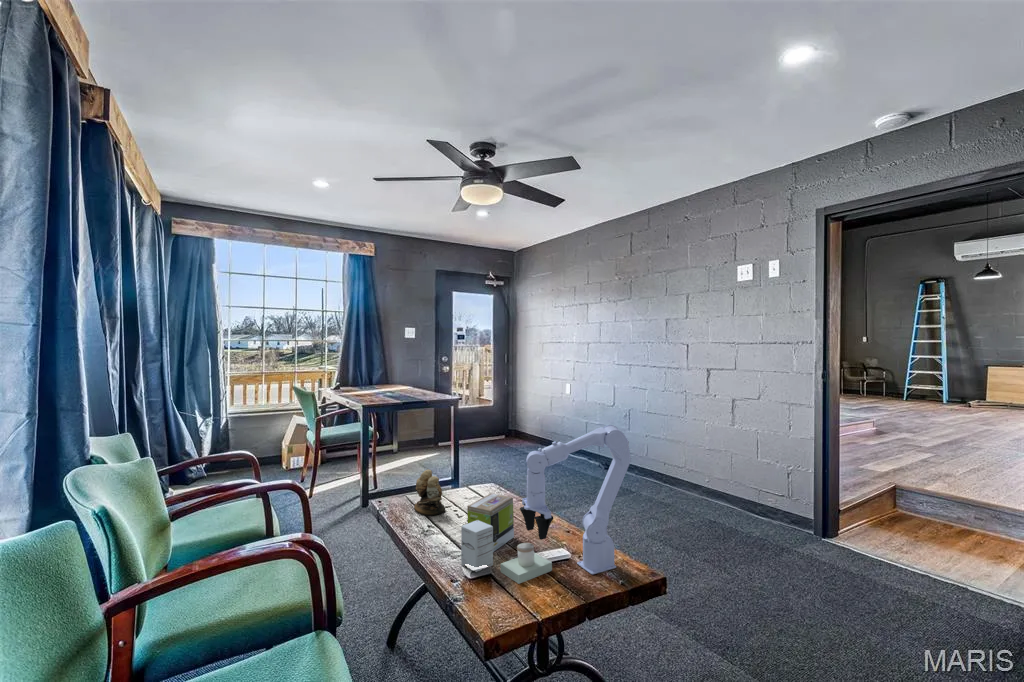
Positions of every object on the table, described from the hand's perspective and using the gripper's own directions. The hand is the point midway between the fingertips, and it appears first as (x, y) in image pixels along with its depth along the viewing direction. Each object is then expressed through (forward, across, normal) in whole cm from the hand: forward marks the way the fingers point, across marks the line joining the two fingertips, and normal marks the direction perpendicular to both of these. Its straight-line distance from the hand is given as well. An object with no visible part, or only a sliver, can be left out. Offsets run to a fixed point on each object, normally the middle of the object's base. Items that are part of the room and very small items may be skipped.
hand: (536, 534), depth 148 cm
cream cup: (+8, +1, -4) cm, 9 cm away
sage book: (+11, +1, -4) cm, 12 cm away
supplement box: (+10, -10, -16) cm, 21 cm away
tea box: (+10, -23, -5) cm, 25 cm away
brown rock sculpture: (+10, -64, -14) cm, 66 cm away
